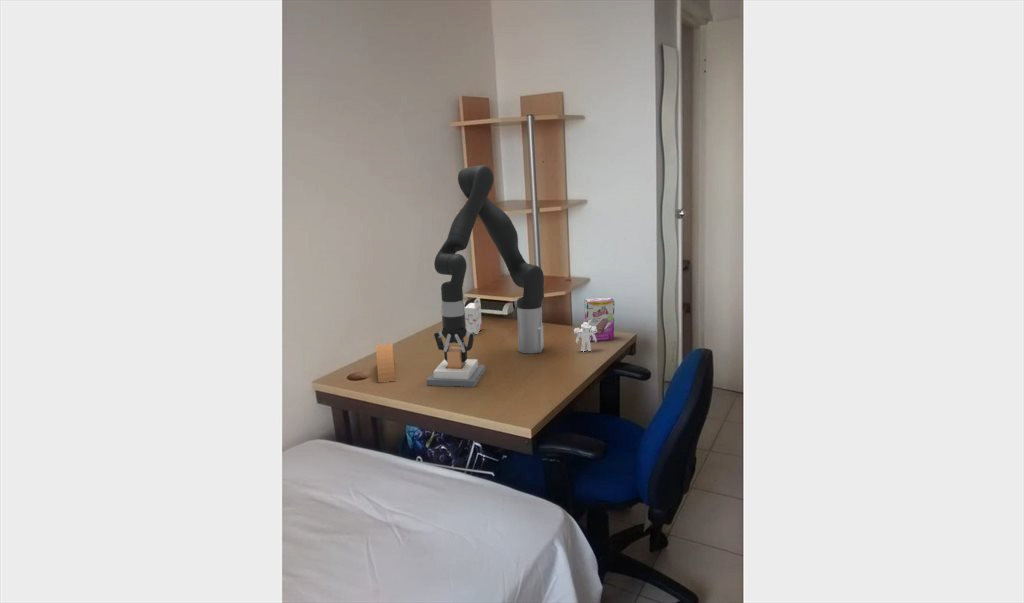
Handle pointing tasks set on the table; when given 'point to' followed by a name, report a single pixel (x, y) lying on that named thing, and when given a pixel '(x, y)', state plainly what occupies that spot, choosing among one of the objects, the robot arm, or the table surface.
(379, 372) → the arch
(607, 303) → the candy bar box
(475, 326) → the ink cartridge box
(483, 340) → the table surface
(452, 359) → the cardboard parcel
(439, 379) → the socket plate
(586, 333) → the blocky character figurine
